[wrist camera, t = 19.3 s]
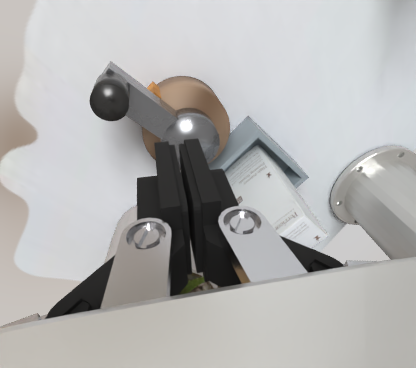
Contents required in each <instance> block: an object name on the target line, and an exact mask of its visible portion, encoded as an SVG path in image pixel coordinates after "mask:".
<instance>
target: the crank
mask: <svg viewBox="0 0 416 368" xmlns="http://www.w3.org/2000/svg"><path fill="white" fill-rule="evenodd" d="M90 106H91V108H92V110H93V112H94V113H95V114H96V115H97V116H98V117H100V118H101V119H103V120H107V121H117V120H119V119H121V118H123V117H124V116H125V115H126V116H128V117H129V118H130V119H132V120H133V121H135V122H136V123H138V124H139V125H141V126H142V127H144V128H145V129H147V130H148V131H150V132H151V133H153V134H154V135H156V136H157V137H159V138H160V141H161V142H166V141H168V142H169V145H175V149H176V154H177V158H178V163H179V167H180V155H179V144H184V140H186V139H197V138H198V139H199V142H200V145H201V147H202V150H203V153H204V155H205V158H206V161H207V163H209V162H210V161H211V160H212V159H213V158H214V157H215V155H216V154H217V152H218V149H219V145H220V138H219V134H218V131H217V129H216V127H215V125H214V124H213V122H212V120H211V118H210V117H209V116H208V115H207V114H206V113H204V112H203V111H201V110H199V109H195V108H182V109H179V110H175V109H173V108H172V107H171V106H169V105H168V104H167V103H165V102H164V101H163V100H161V99H160V98H159V97H157V96H156V95H155V94H153V93H152V92H151V91H150V90H148V89H147V88H146V87H144V86H143V85H142V84H140V83H139V82H138V81H136V80H135V79H134V78H132V77H131V76H130V75H128V74H127V73H126V72H124V71H123V70H122V69H120V68H119V67H118V66H117V65H115V64H114V63H113V62H111V61H110V63H109V64H108V66H107V67H106V69H105V70H104V72H103V73H102V75H100V76H99V77H98V79H97V80H96V83H95V85H94V88H93V91H92V93H91V96H90Z"/></svg>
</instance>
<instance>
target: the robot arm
mask: <svg viewBox="0 0 416 368" xmlns="http://www.w3.org/2000/svg"><path fill="white" fill-rule="evenodd" d="M154 146H155V156H156V167H157V176H150V177H141V178H137V221H134V222H133V223H131V224H129V225H128V226H127V227H126V228H125V229H124V230H123V232H122V234H121V236H120V240H119V244H118V247H117V251H116V254H115V255H114V256H113V257H112V258H111V259H109V260H108V261H107V262H106V263H105V264H103V265H102V266H101V267H100V268H99V269H97V270H96V271H95V272H94V273H93V274H91V275H90V276H89V277H88V278H87V279H85V280H84V281H83V282H82V283H81V284H79V285H78V286H77V287H76V288H75V289H73V290H72V291H71V292H70V293H69V294H67V295H66V296H65V297H64V298H63V299H61V300H60V301H59V302H58V303H57V304H56V305H55V306H54V307H53V308H52V309H51V310H50V311H49V313H48V314H47V315H44V316H41V317H40V316H39V314H38V313H37V314H34V315H31V316H28V317H26V318H23V319H20V320H17V321H15V322H12V323H9V324H6V325H3V326H1V327H0V368H416V154H415V153H413V152H412V151H410V150H409V149H407V148H404V147H402V146H385V147H381V148H377V149H375V150H372V151H370V152H368V153H366V154H364V155H362V156H361V157H359V158H358V159H356V160H355V161H354V162H352V163H351V164H350V165H349V166H348V167H347V168H346V169H345V170H344V171H343V172H342V174H341V175H340V176H339V178H338V179H337V181H336V183H335V185H334V187H333V189H332V192H331V198H330V203H331V208H332V210H333V212H334V213H335V215H336V216H337V217H338V218H339V219H340V220H341V221H343V222H345V223H348V224H354V225H355V224H356V225H357V224H358V225H360V226H361V227H362V228H363V229H364V230H365V231H366V232H367V233H368V235H369V236H370V237H371V238H372V239H373V240H374V241H375V242H376V244H377V245H378V246H379V247H380V248H381V249H382V250H383V251H384V252H385V254H386V255H388V257H389V258H390V259H391V260H386V261H379V262H376V261H374V262H373V261H346V263H345V264H342V263H340V262H339V261H337V260H336V259H334V258H332V257H330V256H328V255H325V254H323V253H321V252H318V251H316V250H313V249H311V248H309V247H306V246H304V245H302V244H299V243H297V242H294V241H292V240H290V239H287V238H285V237H282V236H280V235H278V233H277V232H276V231H275V229H274V228H273V227H272V226H271V224H270V223H269V222H268V220H267V219H266V218H265V216H264V215H263V214H262V213H261V212H260V211H258V210H256V209H254V208H251V207H247V206H239V204H238V202H237V200H236V197H235V195H234V193H233V191H232V188H231V186H230V184H229V181H228V179H227V177H226V175H225V172H224V170H223V169H222V168H221V169H212V170H210V169H209V166H208V163H207V161H206V158H205V155H204V153H203V150H202V147H201V145H200V142H199V139H198V138H197V139H186V140H184V144H179V155H180V167H179V163H178V158H177V154H176V149H175V145H169V142H168V141H166V142H155V143H154ZM180 169H181V172H180ZM190 241H191V246H192V251H193V256H194V261H195V267H196V271H197V273H202V272H203V277H204V281H205V282H207V281H210V282H212V283H214V284H215V285H217V286H218V288H216V289H210V290H204V291H198V292H193V293H187V294H181V295H178V294H179V293H180V292H181V291H182V290H183V289H184V288H185V286H186V285H187V284H188V276H187V275H190V274H192V262H191V247H190Z"/></svg>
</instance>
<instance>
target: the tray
mask: <svg viewBox="0 0 416 368" xmlns="http://www.w3.org/2000/svg"><path fill="white" fill-rule="evenodd" d="M256 145H259V146H260V147H262V148H263V149H264V150H265V151H266V152H267V153H268V154H269V155H270V156H271V157H272V158H273V159H274V160H275V161H276V162H277V163H278V165H279V166H280V168H281V169H282V171H283V172H284V173H285V175H286V176H287V178H288V179H289V180H290V182H291V183H292V184H293V186H294V187H295V189H296V188H297V187H298V186H299V185H301V184H302V183H303V182H304V181H305V180H306V179H308V178H309V177H308V176H307V175H306V173H305V172H304V171H303V170H302V169H301V168H300V166H299V165H298V164H297V163H296V162H295V161H294V160H293V159H292V158H291V157H290V156H289V155H288V154H287V153H286V152H285V151H284V150H283V149H282V148H281V147H280V146H279V145H278V144H277V143H276V142H275V141H274V140H273V139H272V138H271V137H269V136H268V135H267V134H266V133H265V132H264V131H263V130H262V129H261V128H260V127H259V126H258V125H257V124H256V123H255V122H254V121H253V120H252V119H251V118H250V117H249V116H248V117H247V118H246V119H245V120H244V121H243V122H242V123H241V124H240V125H239V126H238V127H237V128H236V129H235V130H234V131H233V132H232V133H231V134H230V135H229V138H228V141H227V144H226V146H225V148H224V149H223V151H222V152H221V153H220V154H219V156H218V157H217V158H216V159H214V160H213V161H212V162H210V163H209V164H208V166H209V169H210V170H212V169H221V168H222V169H223V170H224V172H226V171H227V170H228V169H229V168H230V167H231V166H232V165H233V164H234V163H235V162H236V161H237V160H239V159H240V158H241V157H242V156H243V155H244V154H246V153H247V152H248V151H249V150H251V149H252V148H253V147H254V146H256Z"/></svg>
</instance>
